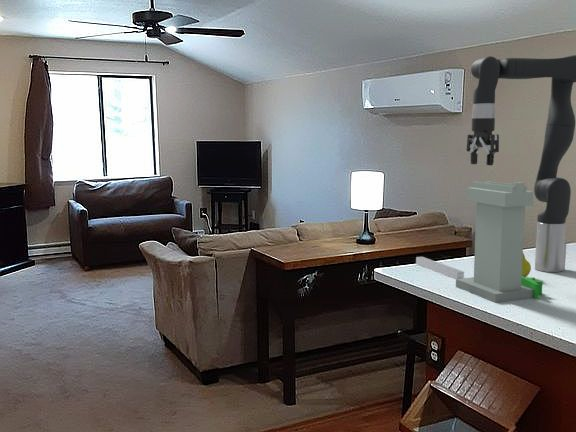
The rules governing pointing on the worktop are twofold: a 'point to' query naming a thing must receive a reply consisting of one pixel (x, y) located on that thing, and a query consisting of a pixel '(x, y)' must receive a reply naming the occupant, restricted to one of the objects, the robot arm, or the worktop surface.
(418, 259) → the lever bar
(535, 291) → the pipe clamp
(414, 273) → the worktop surface
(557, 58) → the robot arm
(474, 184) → the post
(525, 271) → the fruit
